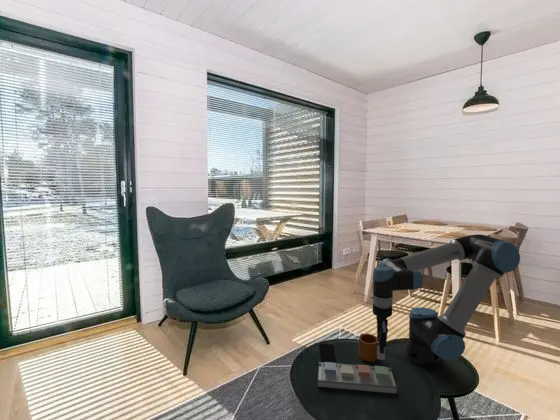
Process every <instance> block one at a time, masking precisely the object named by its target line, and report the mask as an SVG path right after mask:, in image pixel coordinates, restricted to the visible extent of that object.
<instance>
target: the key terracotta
mask: <svg viewBox="0 0 560 420" xmlns="http://www.w3.org/2000/svg"><path fill="white" fill-rule="evenodd" d="M357 365H358V376H361V377H371V372H370V367H369V366H370V365H369V364H357Z"/></svg>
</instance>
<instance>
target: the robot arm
mask: <svg viewBox="0 0 560 420" xmlns="http://www.w3.org/2000/svg"><path fill="white" fill-rule="evenodd" d="M456 260H458V261H464V260H471V265H472V268H471V270H470V271H469V273H468V275H467V276H466V278H465V279H464V281H463V283H462V284H461V285H460V288H459V289H458V290H457V293H456V294H455V296H453V299H452V300H451V302H450V304H449V305H448V306H447V308H446V310H445V312H444V313H443V314H442V315H438V312H437V311H436V310H435V309H432V308H429V307H414V308H412V309H410V311H409V316H408V318H409V319H408V321H409V322H408V323H409V325H408V329H409V330H408V340H407V342H406V344H405V346H404V352H403V353H404V356H405V358H406V359H407V360H409V361H410V362H412V363H413V364H416V365H419V366H423V367H435V366H437V365H438V364H440V361H441V359H442V360H445V361H452V360H456V359H458V358H460V356H462V355H463V354H464V352H465V349H466V342H465V340H464V338H465V336H466V334H467V333H466V331H465V328H466V326H467V325H468V324H469V321H470V320H471V318H472V316H473V315H474V313H475V312H476V310H477V308H478V307H479V305H480V304H481V303H482V301H483V299H484V297H486V294H487V293H488V291H489V290H490V288H491V286H492V285H493V283H494V281H495V280H496V279H499V278H503V276H504V275H505V273H511V272H514V271H515V270H516V269H517V268H518V267H519V264H520V261H521V254H520V251H519V248H518V247H517V245H515V244H514V243H511V242H508V241H506V240H505V239H499V238H497V237H496V238H495V237H492V236H489V235H485V234H479V233H478V234H477V233H476V234H469V235H466V236H461V237H457V238H453V239H451V240H450V241H449V242H447V243H446V244H441V245H439V246H436V247H432V248H429V249H425V250H422V251H419V252H416V253H413V254H408V255H406V256H405V255H404V256H403V257H400V258H394V259H393V258H384V259H382V260H381V261H380V263H379V265H377V266H375V267H374V269H373V274H372V296H371V299H372V314H373V316H376V337H377V338H378V343H377V346H378V355H377V357H378V359H377V360H383V361H385V359H386V348H387V340H388V333H389V328H388V324H389V320H388V318H390V317H392V316H393V303H394V302H393V300H394V295H393V293H394V292H395V291H407V290H409V291H410V290H413V291H414V290H417V289H419V290H420V289H421V288H422V287H423V285H424V276H423V274H422V273H421V271H422V270H425V269H428V268H431V267H435V266H436V267H437V265H439V266H440V265H441V264H445V263H449V262H452V261H456Z"/></svg>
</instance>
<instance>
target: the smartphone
mask: <svg viewBox="0 0 560 420" xmlns="http://www.w3.org/2000/svg"><path fill="white" fill-rule="evenodd" d="M319 344H320V345H319ZM319 344H318V350H319V349H321V350H320V352H319V358H320V359H321V360H320V362H322V363H325V362H331V363H336V364H337V359H336V353H335V348H334V344H333V343H319Z"/></svg>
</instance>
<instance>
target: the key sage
mask: <svg viewBox="0 0 560 420" xmlns="http://www.w3.org/2000/svg"><path fill="white" fill-rule="evenodd" d="M374 370H375V375H376V378H385V379H388V371H387V366H381V365H374Z"/></svg>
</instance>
